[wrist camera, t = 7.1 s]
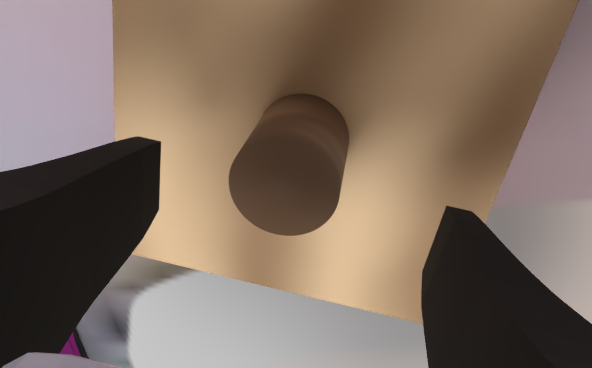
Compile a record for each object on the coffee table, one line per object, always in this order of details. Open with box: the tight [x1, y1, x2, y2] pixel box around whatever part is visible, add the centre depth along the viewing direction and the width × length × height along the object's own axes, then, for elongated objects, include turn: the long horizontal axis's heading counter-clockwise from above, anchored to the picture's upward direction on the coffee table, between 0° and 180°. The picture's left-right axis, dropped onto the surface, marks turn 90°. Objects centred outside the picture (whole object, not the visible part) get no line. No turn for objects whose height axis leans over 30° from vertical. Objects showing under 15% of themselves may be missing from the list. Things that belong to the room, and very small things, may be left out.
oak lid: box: [112, 0, 579, 324], centre depth 15 cm, size 13×13×4 cm
